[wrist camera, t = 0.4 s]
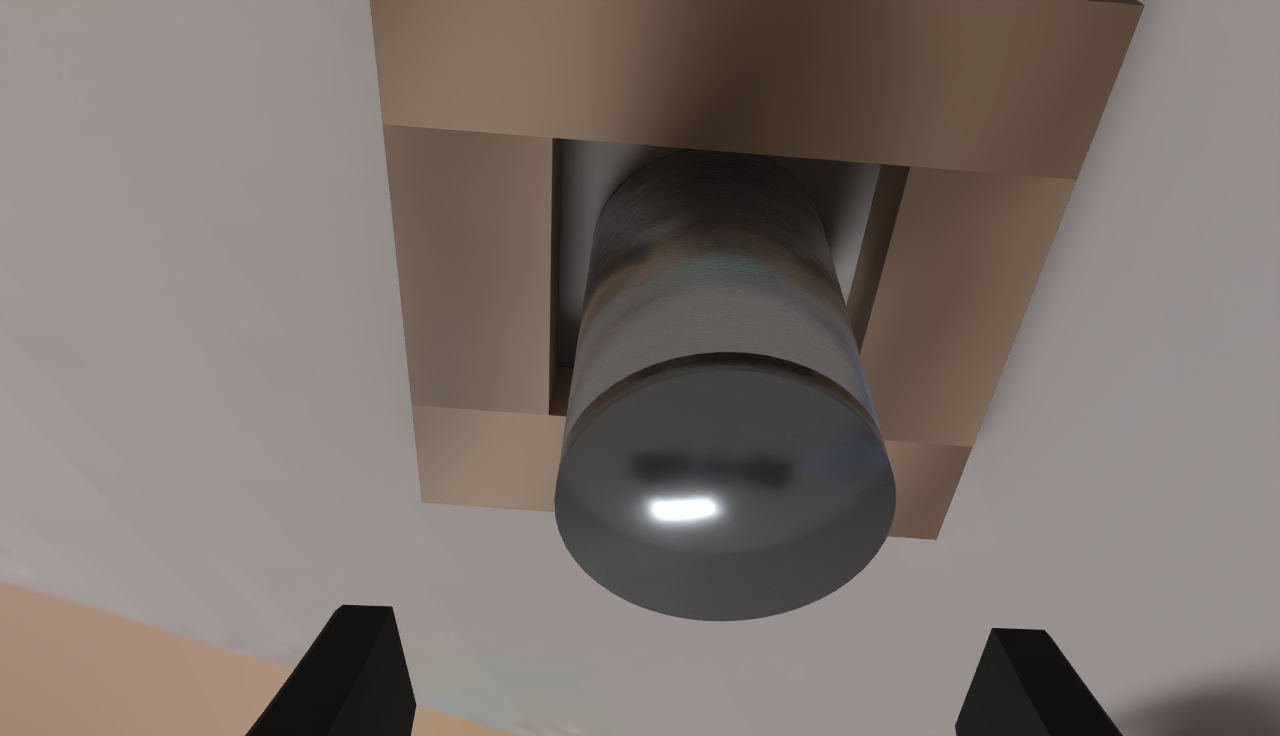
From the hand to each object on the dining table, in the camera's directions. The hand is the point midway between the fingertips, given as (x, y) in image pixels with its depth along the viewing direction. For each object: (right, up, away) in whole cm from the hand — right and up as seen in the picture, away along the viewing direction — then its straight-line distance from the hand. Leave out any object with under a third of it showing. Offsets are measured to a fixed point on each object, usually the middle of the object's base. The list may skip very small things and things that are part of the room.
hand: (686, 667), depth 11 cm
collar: (+1, +6, +8) cm, 10 cm away
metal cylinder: (+1, +6, +8) cm, 10 cm away
